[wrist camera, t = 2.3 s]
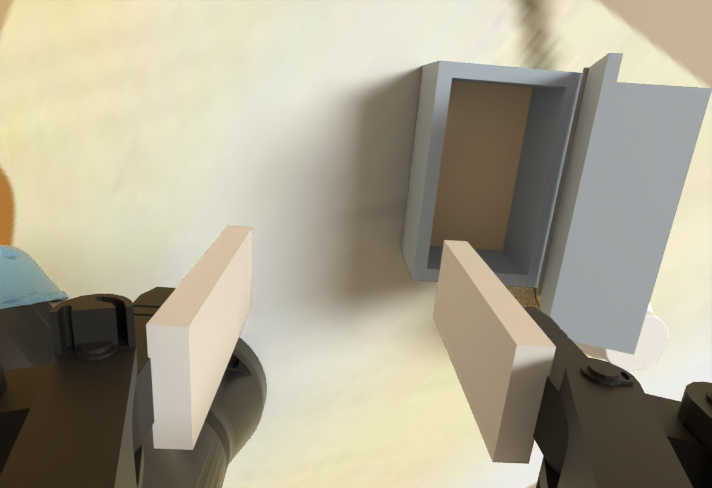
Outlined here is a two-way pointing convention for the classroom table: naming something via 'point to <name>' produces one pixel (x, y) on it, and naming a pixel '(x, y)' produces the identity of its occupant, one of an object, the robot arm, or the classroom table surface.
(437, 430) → the classroom table surface
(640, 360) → the pill bottle
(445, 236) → the box
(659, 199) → the lid
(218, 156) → the classroom table surface
